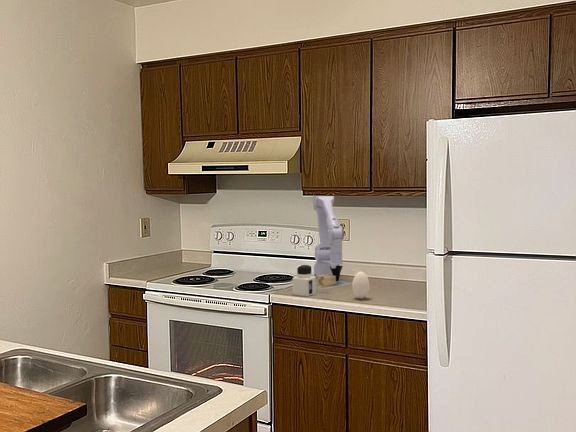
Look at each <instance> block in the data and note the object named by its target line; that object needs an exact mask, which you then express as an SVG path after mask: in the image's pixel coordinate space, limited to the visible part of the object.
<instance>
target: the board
mask: <svg viewBox="0 0 576 432" xmlns="http://www.w3.org/2000/svg"><path fill="white" fill-rule="evenodd" d="M352 283H353V282H350V281H345V280H340V279H339V281H336V284H333V286H330V287H329V286H328V287H318V286H316V289H322V290H329V289H335V288H339V287H345V286H350V285H351V286H352ZM316 285H320V284H319V283H318V282H316Z"/></svg>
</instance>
